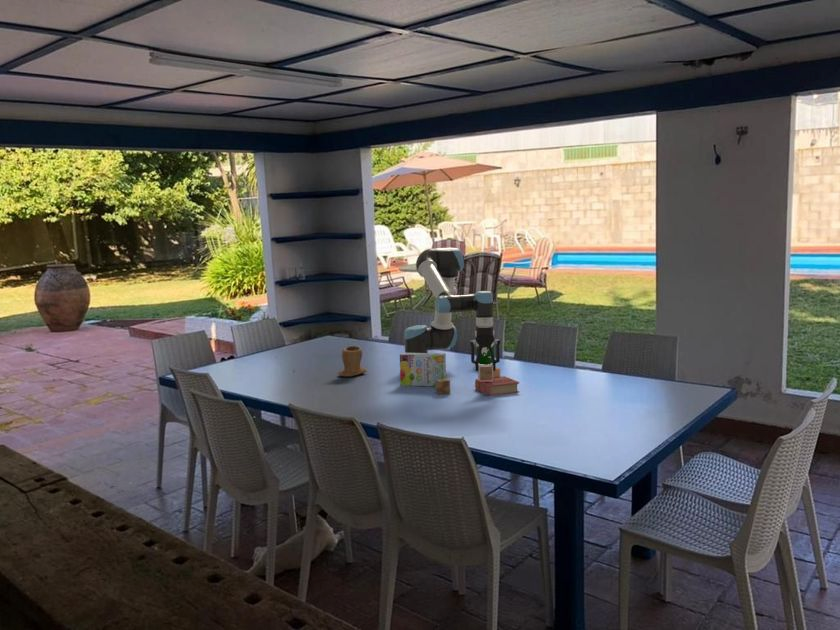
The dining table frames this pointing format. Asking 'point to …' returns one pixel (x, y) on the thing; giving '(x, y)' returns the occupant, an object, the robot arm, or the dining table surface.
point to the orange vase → (352, 361)
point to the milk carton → (485, 354)
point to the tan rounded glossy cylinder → (496, 372)
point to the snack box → (422, 368)
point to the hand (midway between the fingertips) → (485, 378)
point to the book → (497, 386)
